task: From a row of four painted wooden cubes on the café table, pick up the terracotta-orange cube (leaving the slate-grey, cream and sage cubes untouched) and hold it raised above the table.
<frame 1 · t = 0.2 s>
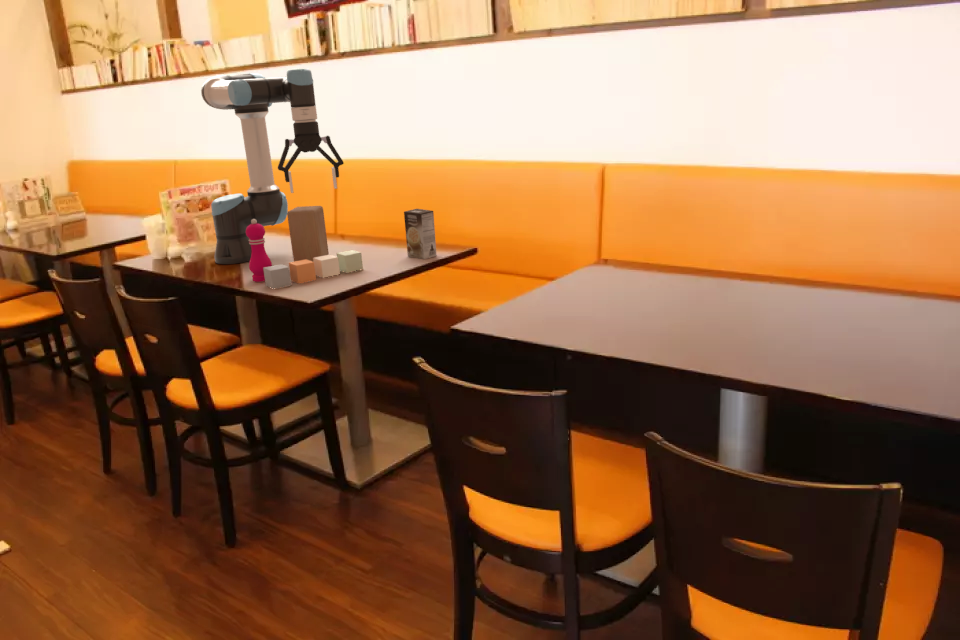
hand: (314, 190, 243), 28 cm above the table, tool pointing down, fingers open, 13 cm apart
coffee box: (422, 256, 270), on the table
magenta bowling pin: (262, 280, 251), on the table
sage cube: (350, 270, 256), on the table
grey cube: (278, 285, 242), on the table
wooden block: (312, 266, 266), on the table
cream cube: (327, 275, 252), on the table
orange cube: (303, 280, 247), on the table
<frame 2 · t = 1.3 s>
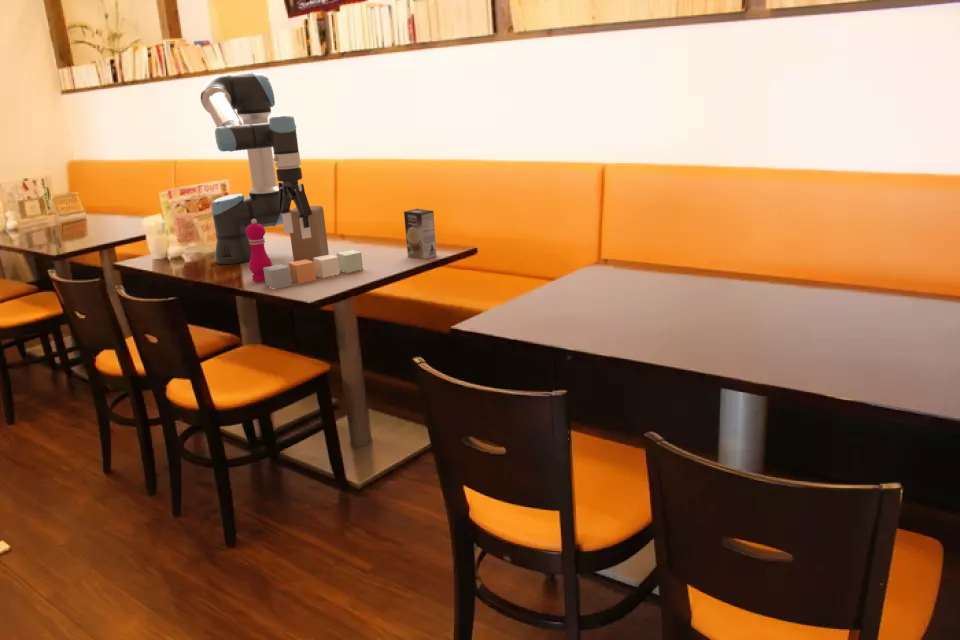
hand: (297, 235, 242), 15 cm above the table, tool pointing down, fingers open, 13 cm apart
nothing on the table moved.
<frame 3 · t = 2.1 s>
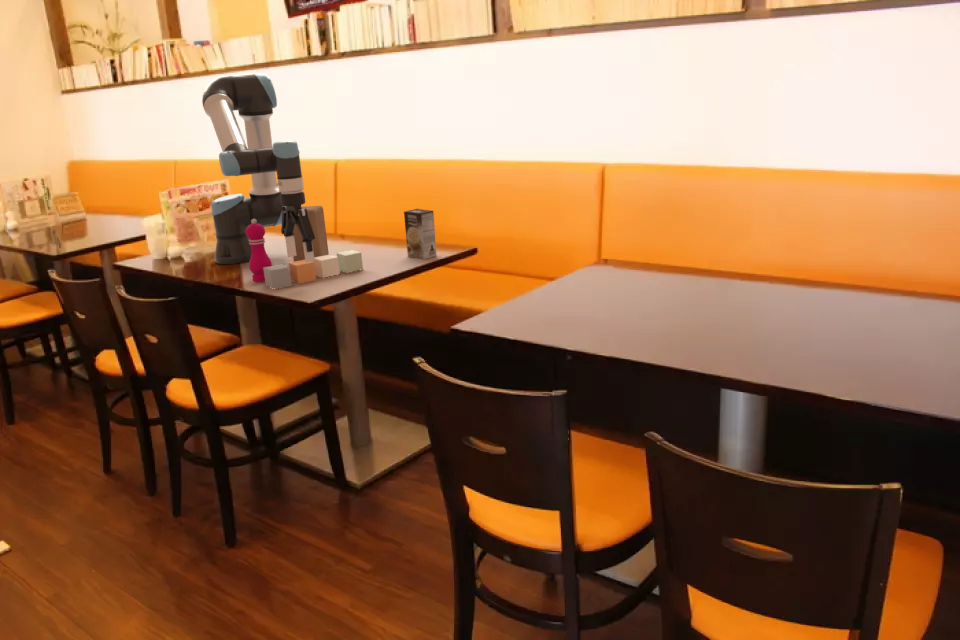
hand: (301, 259, 244), 7 cm above the table, tool pointing down, fingers open, 13 cm apart
nothing on the table moved.
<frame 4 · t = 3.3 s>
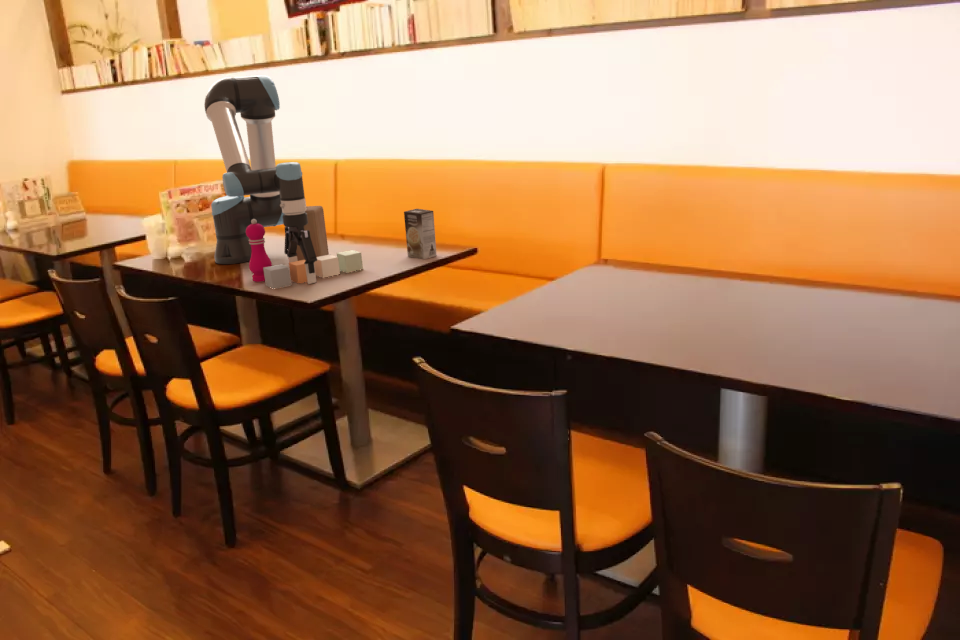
hand: (303, 279, 247), 0 cm above the table, tool pointing down, fingers open, 12 cm apart
nothing on the table moved.
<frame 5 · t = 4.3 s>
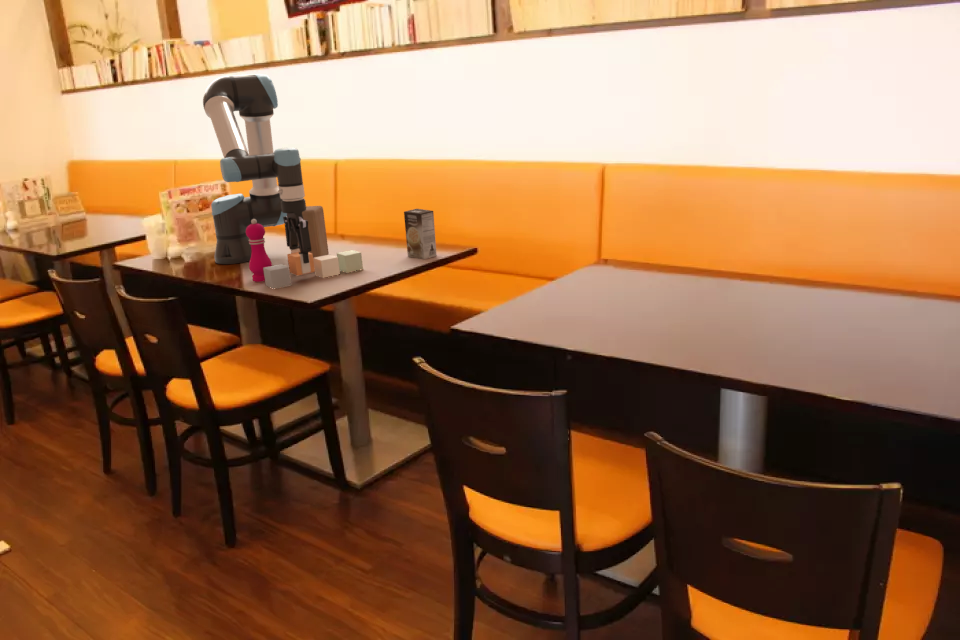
hand: (302, 270, 246), 3 cm above the table, tool pointing down, fingers closed on orange cube, 6 cm apart
orange cube: (302, 272, 246), point 3 cm above the table, touching gripper
everything else where it was.
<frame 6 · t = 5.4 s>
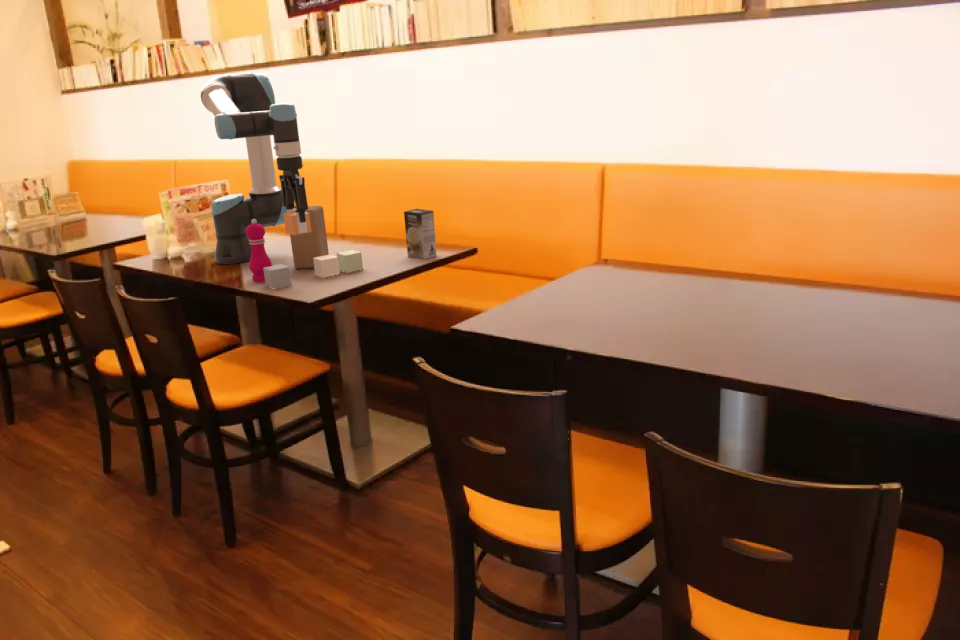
hand: (298, 230, 241), 16 cm above the table, tool pointing down, fingers closed on orange cube, 6 cm apart
orange cube: (298, 232, 241), point 16 cm above the table, touching gripper
everything else where it was.
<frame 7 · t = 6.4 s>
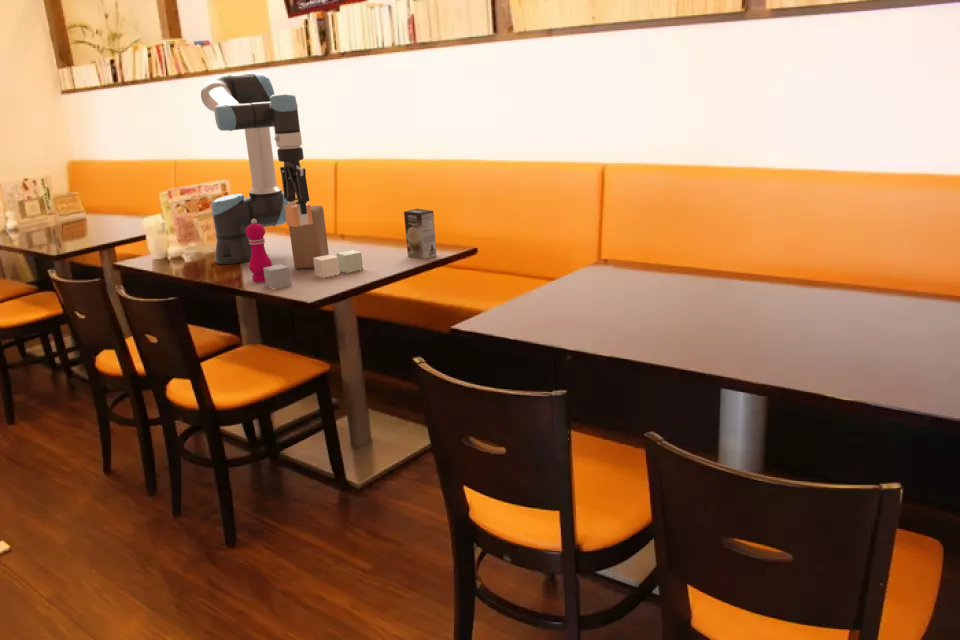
hand: (299, 223, 239), 19 cm above the table, tool pointing down, fingers closed on orange cube, 6 cm apart
orange cube: (299, 224, 239), point 18 cm above the table, touching gripper
everything else where it was.
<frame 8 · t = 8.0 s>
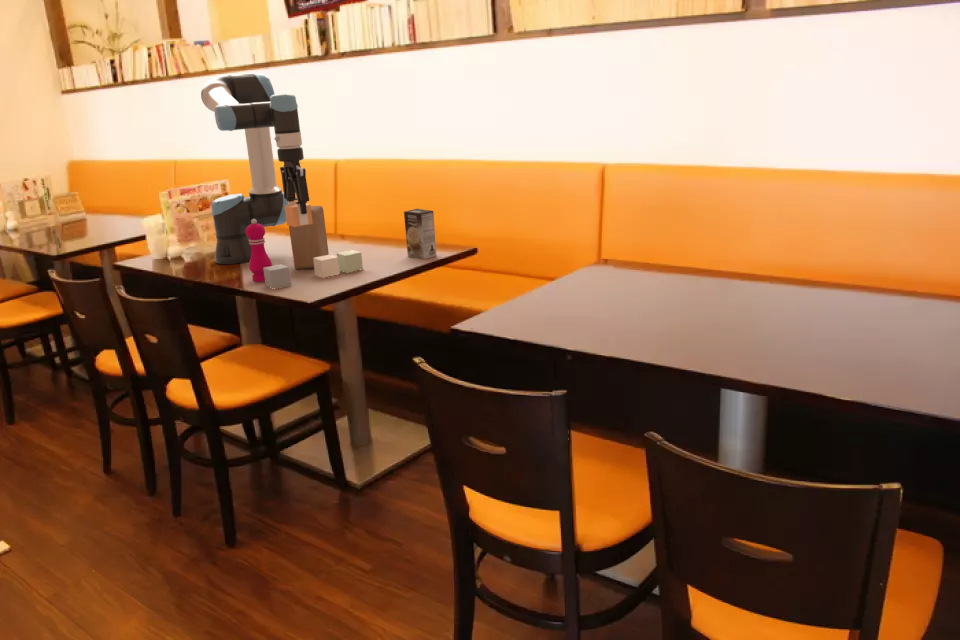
hand: (299, 223, 239), 19 cm above the table, tool pointing down, fingers closed on orange cube, 6 cm apart
orange cube: (299, 224, 239), point 18 cm above the table, touching gripper
everything else where it was.
at the end: the gripper is holding orange cube; orange cube point 18.4 cm above the table; cream cube moved 0.1 cm from its start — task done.
